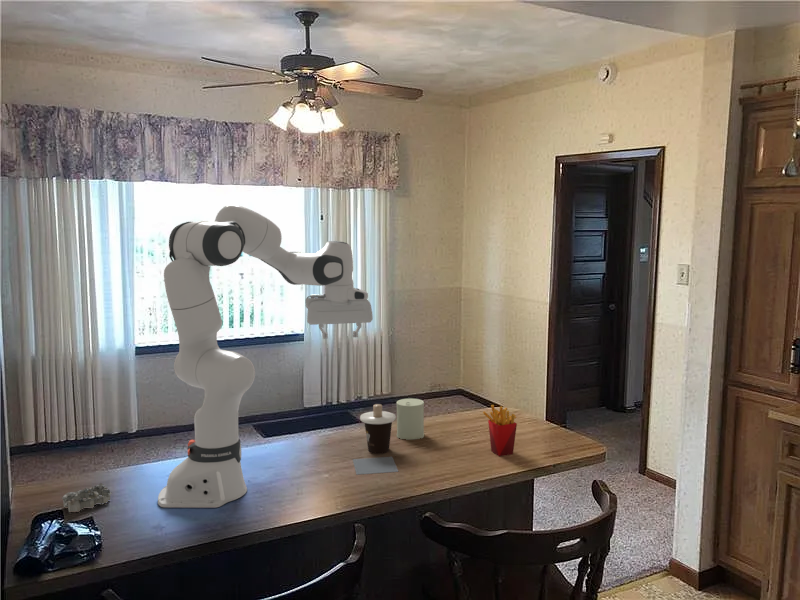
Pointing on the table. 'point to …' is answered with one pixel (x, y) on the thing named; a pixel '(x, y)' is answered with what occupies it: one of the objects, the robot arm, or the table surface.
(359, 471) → the mat
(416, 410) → the can
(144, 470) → the table surface
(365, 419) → the lid
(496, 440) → the french fries
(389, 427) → the dark brown two-tone container
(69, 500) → the egg carton
